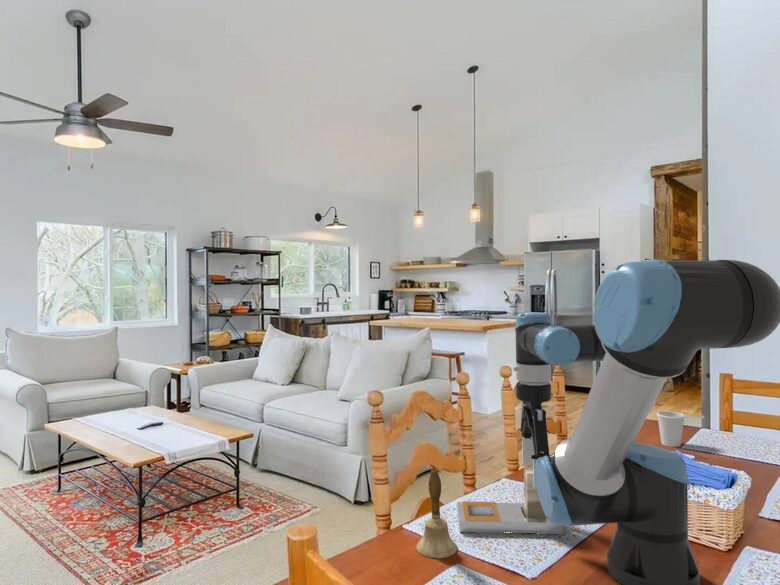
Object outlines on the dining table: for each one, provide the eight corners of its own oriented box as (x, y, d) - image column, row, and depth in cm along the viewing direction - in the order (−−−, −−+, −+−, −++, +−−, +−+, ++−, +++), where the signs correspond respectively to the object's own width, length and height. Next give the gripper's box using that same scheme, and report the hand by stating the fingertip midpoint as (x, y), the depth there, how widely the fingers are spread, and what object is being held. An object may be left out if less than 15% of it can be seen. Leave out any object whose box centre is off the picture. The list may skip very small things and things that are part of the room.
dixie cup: (651, 442, 175) (650, 412, 175) (668, 439, 179) (667, 410, 179) (673, 449, 168) (673, 418, 168) (691, 445, 171) (691, 415, 171)
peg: (546, 528, 115) (545, 473, 115) (527, 527, 115) (527, 473, 115) (542, 520, 119) (541, 467, 118) (524, 519, 119) (523, 467, 119)
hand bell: (424, 561, 101) (423, 479, 101) (411, 541, 109) (410, 465, 109) (463, 555, 104) (462, 475, 103) (448, 536, 112) (447, 461, 111)
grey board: (563, 534, 111) (563, 522, 111) (459, 532, 113) (459, 520, 113) (552, 514, 121) (552, 502, 121) (457, 512, 123) (457, 501, 123)
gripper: (508, 372, 129) (508, 457, 130) (526, 394, 104) (527, 499, 105) (539, 372, 129) (539, 457, 129) (564, 394, 104) (565, 500, 104)
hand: (534, 476), depth 117 cm, fingers open, 13 cm apart
